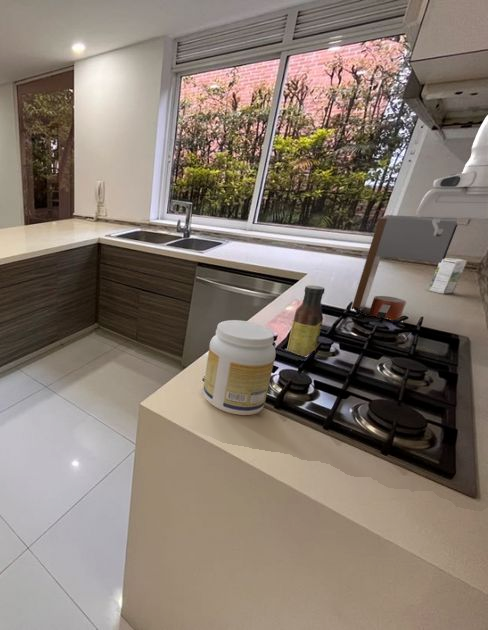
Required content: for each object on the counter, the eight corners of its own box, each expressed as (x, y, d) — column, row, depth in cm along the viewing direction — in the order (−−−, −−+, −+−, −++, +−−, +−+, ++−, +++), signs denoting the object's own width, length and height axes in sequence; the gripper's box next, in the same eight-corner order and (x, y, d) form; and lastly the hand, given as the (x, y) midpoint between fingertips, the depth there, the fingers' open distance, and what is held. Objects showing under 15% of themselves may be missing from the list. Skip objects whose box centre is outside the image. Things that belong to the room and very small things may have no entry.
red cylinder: (401, 316, 120) (407, 299, 117) (393, 333, 107) (400, 313, 104) (370, 311, 125) (376, 294, 123) (359, 326, 112) (365, 307, 110)
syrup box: (437, 289, 151) (449, 257, 145) (453, 293, 145) (467, 260, 140) (427, 290, 149) (439, 258, 144) (443, 294, 144) (457, 260, 139)
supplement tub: (274, 403, 72) (292, 331, 66) (244, 425, 66) (261, 347, 60) (221, 379, 82) (233, 314, 76) (190, 396, 75) (200, 326, 69)
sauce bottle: (317, 364, 88) (337, 291, 81) (291, 362, 89) (309, 290, 82) (305, 353, 94) (323, 284, 87) (281, 351, 95) (297, 283, 88)
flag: (420, 317, 119) (459, 217, 108) (416, 330, 108) (459, 221, 96) (358, 305, 132) (386, 215, 120) (348, 317, 120) (378, 218, 108)
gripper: (556, 178, 76) (527, 240, 81) (428, 180, 90) (410, 233, 95) (562, 178, 72) (531, 243, 77) (426, 180, 86) (408, 235, 91)
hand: (463, 237), depth 86 cm, fingers open, 8 cm apart
